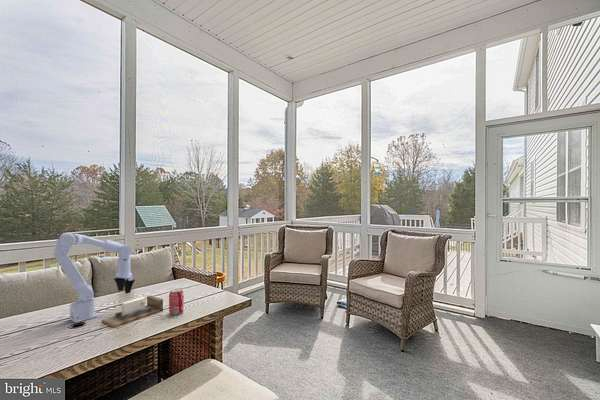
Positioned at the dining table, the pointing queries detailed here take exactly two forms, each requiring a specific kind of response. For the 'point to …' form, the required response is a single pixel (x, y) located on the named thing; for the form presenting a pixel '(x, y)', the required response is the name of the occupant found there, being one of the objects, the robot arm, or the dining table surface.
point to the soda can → (176, 301)
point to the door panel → (133, 305)
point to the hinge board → (136, 313)
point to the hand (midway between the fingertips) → (124, 291)
